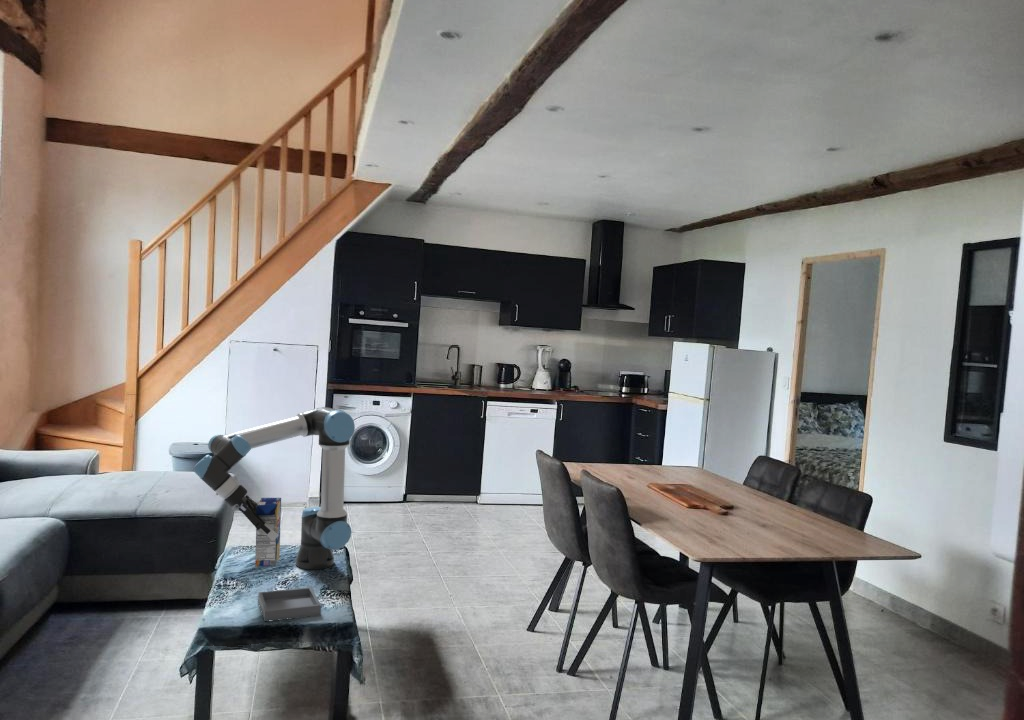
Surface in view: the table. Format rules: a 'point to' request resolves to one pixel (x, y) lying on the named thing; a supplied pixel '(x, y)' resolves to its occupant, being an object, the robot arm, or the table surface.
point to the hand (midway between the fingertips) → (276, 533)
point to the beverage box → (264, 545)
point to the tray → (289, 603)
